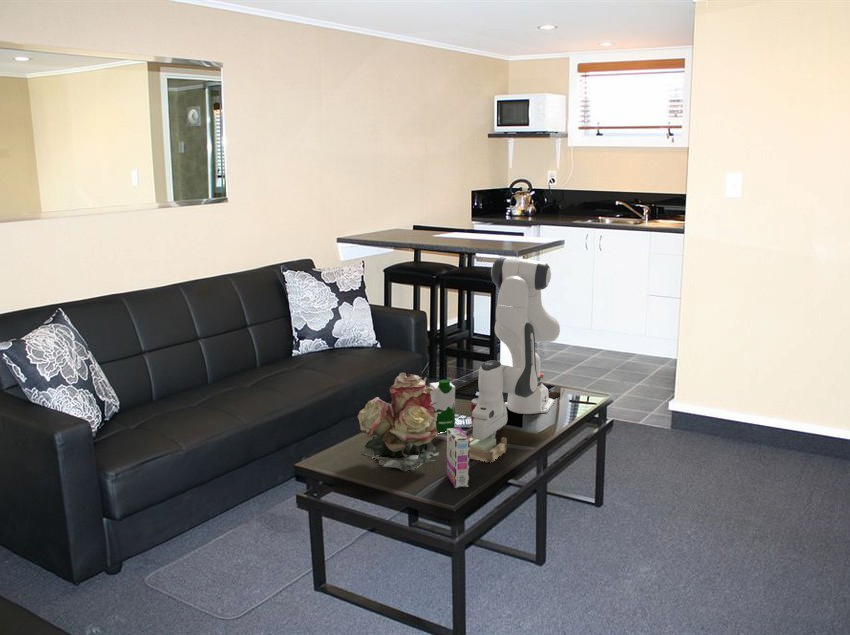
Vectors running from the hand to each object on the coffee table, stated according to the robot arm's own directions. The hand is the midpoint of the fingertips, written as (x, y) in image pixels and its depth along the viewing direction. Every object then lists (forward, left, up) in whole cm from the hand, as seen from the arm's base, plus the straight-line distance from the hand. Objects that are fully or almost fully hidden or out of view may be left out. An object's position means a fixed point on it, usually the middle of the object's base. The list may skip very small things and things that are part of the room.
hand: (490, 443), depth 291 cm
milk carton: (-7, -24, -2) cm, 25 cm away
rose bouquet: (+23, -22, -2) cm, 32 cm away
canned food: (-16, -12, -2) cm, 20 cm away
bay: (+6, 0, -2) cm, 7 cm away
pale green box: (+6, 0, -2) cm, 7 cm away
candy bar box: (+31, +4, -2) cm, 31 cm away
